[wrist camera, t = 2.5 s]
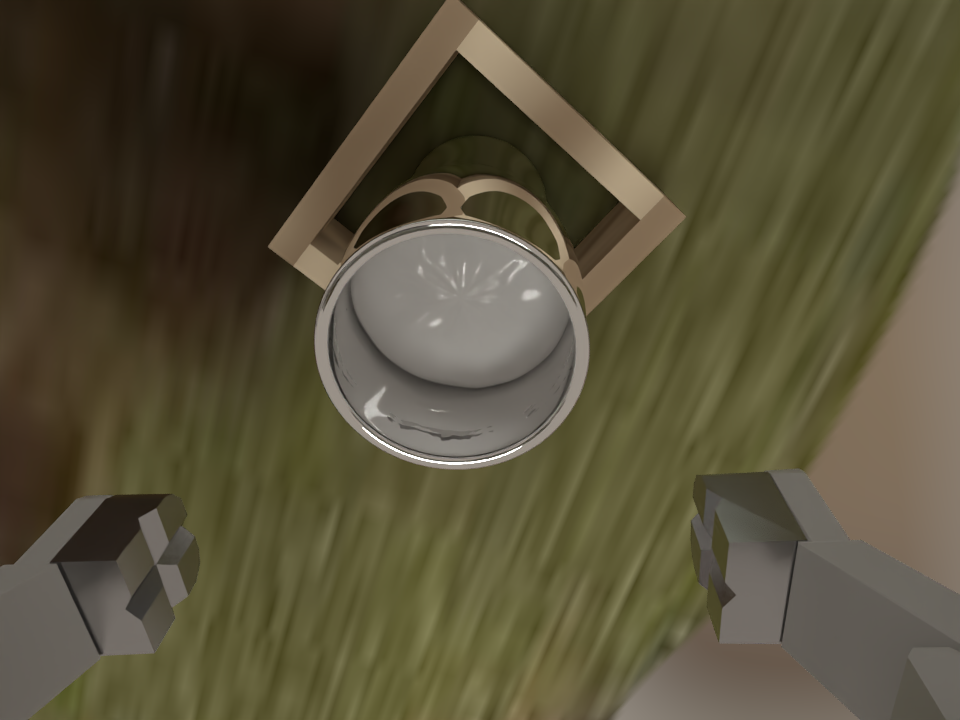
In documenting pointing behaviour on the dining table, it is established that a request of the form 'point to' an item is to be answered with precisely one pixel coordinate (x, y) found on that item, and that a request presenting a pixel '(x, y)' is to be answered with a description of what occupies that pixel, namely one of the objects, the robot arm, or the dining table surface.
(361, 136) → the sleeve
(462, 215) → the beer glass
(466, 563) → the dining table surface
